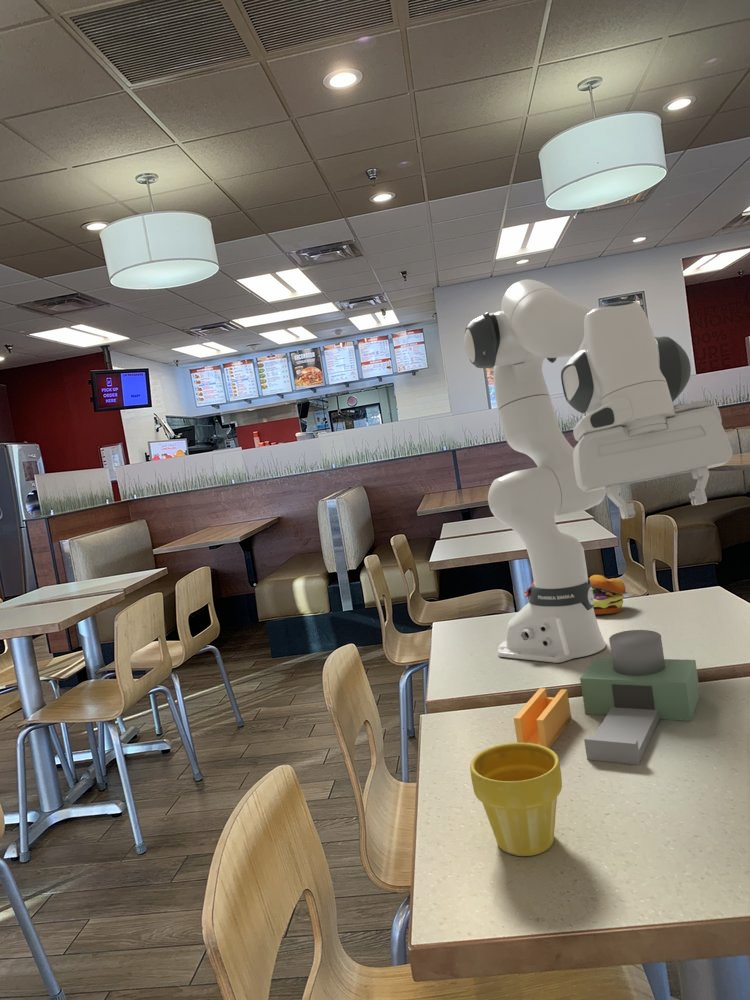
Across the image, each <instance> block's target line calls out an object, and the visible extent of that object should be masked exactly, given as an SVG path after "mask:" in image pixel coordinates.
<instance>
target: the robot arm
mask: <svg viewBox="0 0 750 1000" xmlns="http://www.w3.org/2000/svg"><path fill="white" fill-rule="evenodd" d="M501 299H502V300H501V306H500V308H501V309H500V310H498V311H495V312H494V311H493V312H491V313H489V312H488V311H487V312H485V313H484V314H482V315H480V316H477V317H476V318H474V319H472V320H471V321H470V322H469V323H468V325H467V326H466V327H465V330H464V339H463V340H464V341H463V345H464V351H465V353H466V355H467V357H468V358H469V359H468V360H469V361H470V363H471V364H472V365H474V367H475V368H477V369H493V372H492V373H493V375H492V376H493V388H494V394H495V395H494V396H495V401H496V406H497V410H498V413H499V418H500V421H501V426H502V429H503V433H504V437H505V440H506V444H508V446H509V447H510V448H511V449H513V450H514V451H516V452H518V453H521V454H524V455H526V456H528V457H529V458H530V459H531V460H532V461H533V462H534V464H535V465H536V467H532V468H531V467H530V468H526V469H520V470H515V471H512V472H510V473H506V474H504V475H502V476H499V477H497V478H495V479H494V480H493V481H492V482H491V485H490V487H489V489H488V495H487V502H488V507H489V510H490V512H491V514H492V515H493V516H494V517H495V519H496V520H498V521H499V522H500V523H502V524H503V525H505V526H507V527H509V528H510V529H511V530H512V531H514V532H515V533H516V534H517V535H518V537H519V538H520V540H521V541H522V542H523V544H524V547H525V549H526V550H527V554H528V558H529V562H530V567H531V573H532V578H533V582H531V584H530V586H529V587H528V588H527V589H526V590H525V592H524V598H527V601H528V603H527V604H525V605H524V606H523V607H522V608H520V610H519V611H518V612H517V613H516V614H515V615H513V616H512V618H511V619H510V620H509V622H508V624H507V627H506V631H505V632H506V633H505V634H506V635H505V636H506V637H505V640H503V641H502V642H500V645H498V647H497V655H498V657H500V658H501V657H502V658H508V659H519V660H528V661H537V662H548V663H557V664H558V663H563V662H566V661H570V660H572V659H576V658H583V657H587V656H590V655H593V654H594V655H595V654H596V653H599V652H600V651H602V650H604V649H605V648H606V645H607V643H606V641H605V638H604V637H603V635H602V631H601V629H600V627H599V624H598V623H599V622H598V620H597V618H596V615H595V612H594V608H593V606H594V596H593V588H592V587H591V581H590V579H589V577H588V576H589V575H588V569H587V564H586V563H587V561H586V558H585V557H586V556H585V549H584V546H583V545H582V543H581V541H579V539H578V538H576V537H574V536H572V535H569V534H567V533H564V532H561V531H560V530H559V528H558V526H557V523H556V519H555V518H557V517H561V516H568V515H574V514H577V513H581V512H584V511H587V510H589V509H592V508H593V507H595V506H597V505H599V504H601V503H602V502H603V500H604V499H605V497H606V496H607V498H608V499H609V500H610V501H611V502H612V503H614V505H615V506H616V507H617V508H618V510H619V513H620V517H621V519H622V520H625V519H626V520H627V519H630V518H634V517H636V510H635V506H634V503H633V502H631V503H627V502H626V501H625V500H624V499H623V497H621V495H620V493H621V492H622V489H621V486H625V485H629V484H636V483H640V482H641V483H642V482H644V481H645V482H646V481H650V480H655V479H660V478H666V477H671V476H676V475H680V474H686V473H691V475H692V479H693V480H697V481H696V485H695V487H694V490H693V491H691V492H689V493H688V496H689V499H690V503H691V505H692V506H698V505H703V504H706V503H707V502H708V498H707V494H706V491H705V489H706V488H707V484H708V482H709V477H710V472H709V469H713V468H717V467H722V466H723V465H726V464H728V463H729V462H730V461H731V459H732V456H733V453H734V452H733V448H732V445H731V443H730V440H729V437H728V435H727V433H726V431H725V428H724V426H723V425H722V424H723V421H722V420H723V419H722V416H721V413H720V409H719V407H718V406H717V405H715V404H714V403H711V402H706V400H696V401H694V402H690V403H683V404H682V403H680V404H676V405H674V404H673V402H674V401H675V400H676V399H677V398H678V397H679V396H680V395H681V394H682V392H683V391H684V389H685V388H686V387H687V385H688V383H689V380H690V378H691V373H692V372H691V361H690V358H689V356H688V354H687V352H686V351H685V349H684V348H683V347H682V345H680V344H679V343H678V341H675V340H674V339H672V338H671V337H669V336H655V334H654V332H653V329H652V326H651V324H650V321H649V318H648V316H647V315H646V314H647V313H646V312H645V311H644V308H643V307H642V306H641V304H640V303H639V302H636V301H632V300H624V301H616V302H610V303H607V304H604V305H599V306H598V307H595V308H592V307H590V306H586V305H583V304H581V303H578V302H577V301H574V300H572V299H570V298H568V297H566V296H564V295H563V294H561V292H559V291H558V290H556V289H555V288H553V287H552V286H550V285H548V284H546V283H544V282H542V281H538V280H534V279H530V278H529V279H527V278H526V279H521V280H519V281H516V282H515V283H513V284H512V285H511V286H509V288H507V290H506V291H505V293H504V294H503V297H502V298H501ZM565 357H570V358H569V360H568V361H567V362H566V363H565V364H564V367H562V369H561V371H560V380H561V386H562V391H563V395H564V398H565V400H566V402H567V403H568V404H569V405H570V406H571V407H572V408H573V409H574V410H576V411H577V412H579V413H581V414H586V415H585V416H583V417H582V418H581V419H580V420H579V421H578V422H577V423H576V425H575V426H574V427H573V432H572V433H573V438H574V440H575V441H577V444H575V446H572V445H571V444H570V442H569V441H568V440H567V439H566V436H565V435H564V433H563V432H562V430H561V427H560V425H559V421H558V418H557V416H556V412H555V408H554V407H553V402H552V400H551V399H552V398H551V396H550V395H551V394H550V392H549V388H548V386H547V383H546V380H545V377H544V375H543V369H542V368H543V363H544V360H545V359H546V360H548V361H547V362H549V363H551V364H553V363H555V362H556V361H557V358H565Z"/></svg>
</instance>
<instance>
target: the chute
mask: <svg viewBox="0 0 750 1000" xmlns="http://www.w3.org/2000/svg"><path fill="white" fill-rule="evenodd" d="M570 705H571V704H570V700H569V691H568V689H565V688H564V689H563V688H561V689H560V690H559V691H558V692H557V694H556V695H555V696H554V697H551V696H550V697H549V696H548V693H547V688H546V687H545V688H544V687H543V688H541V687H540V688H539V689H538V690H537V691H536V692H535V693H534V694H533V695H532V697H531V698H530V699H529V700H528V701H527V702H526V703H525V704H524V705H523V706H522V708H521V709H520V710H519V711H518V712H517V714H515V716H514V717H513V722H514V730H515V734H516V740H517V741H516V743H532V744H538V745H541V746H544V747H547V748H549V749H551V748H552V746H553V745H554V743H555V742H556V741H557V739H558V738H559V737H560V735H561V733H562V732H563V731H564V730H565V728H566V727H567V725H568V724H569V722H570V721H571V720H572V713H571V706H570Z"/></svg>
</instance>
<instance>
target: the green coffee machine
mask: <svg viewBox="0 0 750 1000" xmlns="http://www.w3.org/2000/svg"><path fill="white" fill-rule="evenodd" d="M608 641H609V646H610V647H609V648H610V654H611V657H597V656H596V657H595V658H594V659H593V661H592V662H591V664H590V665H589V666H588V668H587V669H586V670H585V671H584V672H583V674H582V675H581V676H580V678H579V680H580V686H581V687H580V688H581V693H582V700H583V701H582V702H583V706H584V713H585V714H587V715H600V716H605V717H604V719H603V721H602V722H601V724H600V726H599V727H598V729H596V732H595V733H594V735H586V736H585V737H584V740H583V741H584V747H585V754H586V755H585V756H586V760H589V761H599V762H605V763H606V762H607V763H608V762H609V763H616V764H626V765H636V766H639V764H640V763H641V760H642V758H643V756H644V754H645V751H646V749H647V747H648V745H649V743H650V740H651V738H652V736H653V734H654V731H655V729H656V728H657V725H658V723H659V720H669V721H671V720H672V721H687V722H692V718H693V716H694V713H695V711H696V708H697V706H698V703H699V700H700V697H701V691H700V685H699V676H698V669H697V663H696V659H676V658H675V659H673V658H671V659H669V658H668V659H667V658H665V656H664V647H663V641H662V635H661V634H660V633H659V632H657V631H654V630H649V629H631V630H625V631H623V630H622V631H620V632H616V633H614V634H612V635H610V637H609V638H608Z"/></svg>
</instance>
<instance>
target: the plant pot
mask: <svg viewBox="0 0 750 1000" xmlns="http://www.w3.org/2000/svg"><path fill="white" fill-rule="evenodd" d="M561 769H562V768H561V763H560V759H559V756H558V755H557V753H556V752H555V751H554V750H552V749H551V748H550V749H549V748H547V747H544V746H541V745H538V744H532V743H517V742H507V743H502V744H497V745H494V746H490V747H488V748H485V749H484V750H482V751H479V752H478V753H477V754H476V755H475V756H473V758H472V759H471V761H470V764H469V772H470V778H471V784H472V789H473V794H474V795H475V797H476V799H478V801H479V802H481V803H482V805H483V809H484V812H485V813H486V817H487V819H488V821H489V825H490V827H491V829H492V833H493V835H494V838H495V841H496V843H497V846H498V847H499V848H500V849H501V850H502V851H504V852H505V853H506V854H507V853H508V854H510V855H513V856H519V857H531V856H536V855H541V854H542V853H544V852H546V851H548V850H549V849H550V848H551V846H553V843H554V839H555V828H556V812H557V802H558V796H559V795H560V793H561V791H562V789H563V788H562V787H563V782H562V781H563V778H562V770H561Z"/></svg>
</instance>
